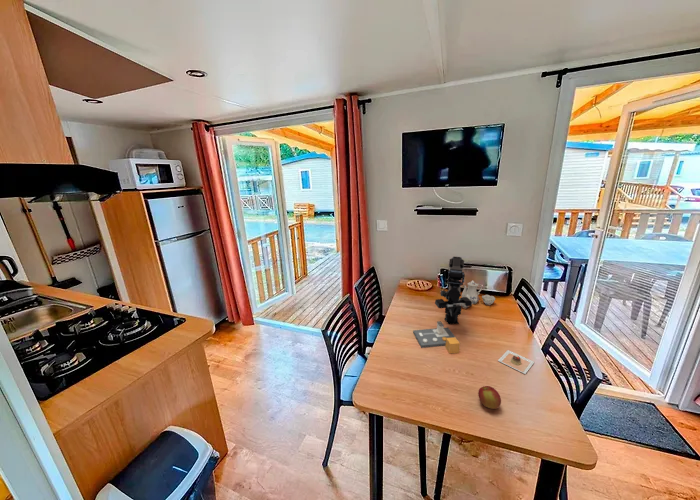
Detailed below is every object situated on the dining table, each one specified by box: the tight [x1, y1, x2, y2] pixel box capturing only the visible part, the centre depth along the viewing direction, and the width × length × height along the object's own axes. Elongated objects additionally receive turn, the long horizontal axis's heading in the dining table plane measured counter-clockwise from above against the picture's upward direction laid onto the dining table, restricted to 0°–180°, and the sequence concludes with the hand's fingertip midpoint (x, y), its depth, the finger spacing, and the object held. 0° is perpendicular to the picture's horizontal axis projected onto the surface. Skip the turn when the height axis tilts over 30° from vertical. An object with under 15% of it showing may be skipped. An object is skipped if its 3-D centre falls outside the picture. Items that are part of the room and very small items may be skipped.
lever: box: [436, 320, 445, 334], centre depth 151 cm, size 3×4×6 cm
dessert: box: [497, 349, 535, 375], centre depth 129 cm, size 12×12×5 cm
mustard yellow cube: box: [444, 336, 461, 355], centre depth 138 cm, size 5×5×6 cm
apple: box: [477, 385, 502, 410], centre depth 106 cm, size 8×8×8 cm
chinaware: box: [459, 280, 497, 309], centre depth 183 cm, size 28×17×17 cm, turn 105°
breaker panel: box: [412, 326, 461, 349], centre depth 149 cm, size 21×14×2 cm, turn 95°
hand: (452, 316), depth 149 cm, fingers closed
